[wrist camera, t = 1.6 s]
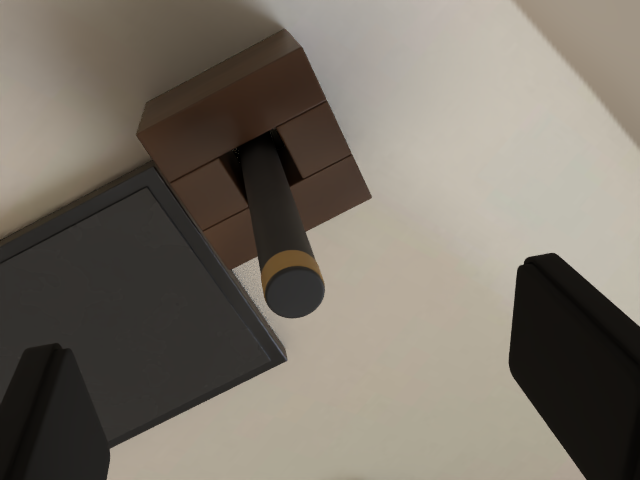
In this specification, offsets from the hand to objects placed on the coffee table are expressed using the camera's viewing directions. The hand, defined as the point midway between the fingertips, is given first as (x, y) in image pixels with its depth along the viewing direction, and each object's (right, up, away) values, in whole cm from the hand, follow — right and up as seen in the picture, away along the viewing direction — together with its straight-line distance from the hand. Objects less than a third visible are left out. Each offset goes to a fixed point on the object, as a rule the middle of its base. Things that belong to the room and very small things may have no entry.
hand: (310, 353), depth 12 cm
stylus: (-3, +7, +12) cm, 14 cm away
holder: (-3, +7, +12) cm, 14 cm away
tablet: (-11, -2, +15) cm, 19 cm away
